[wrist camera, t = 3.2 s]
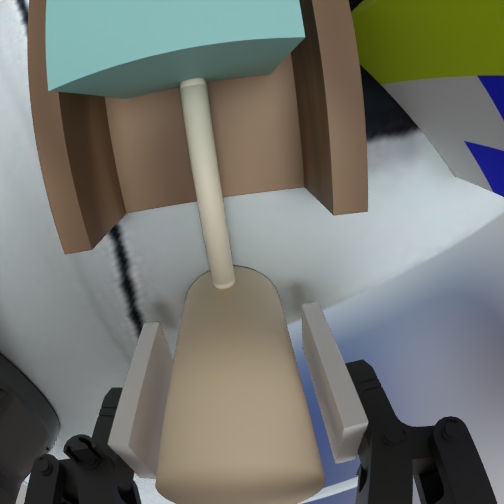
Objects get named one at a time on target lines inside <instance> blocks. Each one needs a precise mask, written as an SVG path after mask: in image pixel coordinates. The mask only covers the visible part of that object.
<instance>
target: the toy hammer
mask: <svg viewBox="0 0 504 504" xmlns="http://www.w3.org/2000/svg"><path fill="white" fill-rule="evenodd" d="M304 38H305V32H304V26H303V20H302V14H301V8H300V3H299V0H47V1H46V67H47V82H48V91H53V92H67V93H78V94H88V95H97V96H105V97H112V98H119V99H128V98H132V97H136V96H140V95H144V94H148V93H152V92H157V91H161V90H166V89H170V88H175V87H180V93H181V101H182V108H183V115H184V122H185V129H186V136H187V142H188V149H189V155H190V161H191V167H192V173H193V179H194V185H195V191H196V197H197V203H198V208H199V214H200V219H201V225H202V230H203V235H204V241H205V246H206V251H207V256H208V261H209V266H210V271H209V272H207V273H205V274H204V275H202V276H200V277H199V278H198V279H197V280H196V281H195V282H194V283H193V284H192V286H191V287H190V289H189V291H188V293H187V296H186V299H185V304H184V309H183V314H182V319H181V324H180V329H179V334H178V340H177V345H176V350H175V356H174V361H173V367H172V373H171V378H170V384H169V390H168V396H167V403H166V409H165V416H164V422H163V429H162V436H161V444H160V451H159V459H158V467H157V476H156V489H157V491H158V492H159V493H160V494H161V495H162V496H163V497H164V498H166V499H168V500H169V501H171V502H174V503H176V504H297V503H300V502H302V501H304V500H306V499H308V498H310V497H312V496H314V495H315V494H317V493H318V492H319V491H320V490H321V489H322V488H323V487H324V485H325V482H326V479H325V476H324V471H323V467H322V463H321V458H320V454H319V450H318V446H317V442H316V438H315V434H314V430H313V426H312V422H311V418H310V414H309V410H308V406H307V402H306V398H305V394H304V390H303V387H302V382H301V378H300V375H299V371H298V367H297V363H296V359H295V355H294V352H293V347H292V344H291V340H290V336H289V332H288V329H287V324H286V321H285V317H284V313H283V309H282V306H281V302H280V298H279V295H278V292H277V290H276V288H275V287H274V285H273V284H272V283H271V282H270V281H269V279H267V278H266V277H265V276H264V275H262V274H260V273H259V272H257V271H254V270H252V269H248V268H245V267H238V266H233V260H232V254H231V248H230V242H229V235H228V229H227V222H226V216H225V209H224V203H223V196H222V190H221V183H220V176H219V169H218V162H217V156H216V149H215V141H214V134H213V127H212V120H211V113H210V105H209V98H208V90H207V83H206V82H209V81H215V80H223V79H230V78H238V77H248V76H258V75H270V74H271V73H272V72H273V71H274V70H275V69H276V68H277V67H278V65H279V64H280V63H281V62H282V61H283V60H284V59H285V58H286V57H287V56H288V55H289V54H290V53H291V52H292V51H293V49H294V48H295V47H296V46H297V45H298V44H299V43H300V42H301V41H302V40H303V39H304Z"/></svg>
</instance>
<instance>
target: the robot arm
mask: <svg viewBox="0 0 504 504" xmlns="http://www.w3.org/2000/svg"><path fill="white" fill-rule="evenodd" d="M301 305H302V338H303V351H304V355H305V358H306V361H307V365H308V368H309V371H310V375H311V378H312V382H313V385H314V389H315V392H316V395H317V399H318V403H319V406H320V410H321V413H322V417H323V420H324V424H325V427H326V431H327V435H328V438H329V442H330V445H331V449H332V452H333V456H334V460H335V463H336V464H337V463H341V462H345V461H349V460H353V459H356V457H357V454H358V455H359V458H360V461H361V464H360V466H359V468H358V471H357V474H356V475H359V477H358V487H357V496H356V503H355V504H412V496H413V494H412V493H413V492H412V491H413V476H414V479H415V483H416V487H417V490H418V494H419V497H420V502H421V504H497V501H496V498H495V495H494V493H493V490H492V487H491V484H490V482H489V479H488V476H487V474H486V471H485V469H484V466H483V463H482V461H481V459H480V456H479V454H478V451H477V449H476V447H475V445H474V442H473V440H472V438H471V435H470V433H469V431H468V429H467V427H466V425H465V424H464V422H463V421H462V420H460V419H459V418H457V417H452V416H450V417H444V418H442V419H441V420H439V421H438V422H437V423H436V425H435V426H426V427H411V426H408V425H406V424H404V423H402V422H401V421H400V420H399V419H398V418H397V417H396V415H395V413H394V411H393V409H392V407H391V404H390V402H389V400H388V398H387V396H386V394H385V392H384V390H383V388H382V387H381V384H380V382H379V380H378V379H377V376H376V374H375V372H374V369H373V368H372V367H371V366H370V365H369V364H368V363H366V362H365V361H364V360H359V361H355V362H350V363H346V364H345V363H344V360H343V358H342V356H341V353H340V351H339V348H338V346H337V344H336V342H335V339H334V337H333V335H332V333H331V330H330V328H329V325H328V323H327V322H326V319H325V317H324V314H323V312H322V309H321V307H320V305H319V303H318V302H313V303H306V304H301ZM173 361H174V360H173V358H172V355H171V353H170V350H169V347H168V345H167V342H166V339H165V337H164V334H163V331H162V328H161V326H160V323H159V322H152V323H144V325H143V328H142V331H141V334H140V337H139V340H138V343H137V345H136V349H135V352H134V355H133V358H132V361H131V364H130V367H129V370H128V373H127V377H126V380H125V383H124V386H123V388H111V389H110V391H109V392H108V393H107V394H106V396H105V397H104V400H103V403H102V406H101V407H102V409H100V413H99V417H98V419H97V422H96V425H95V429H94V432H93V435H92V438H91V437H89V436H87V435H76V436H73V437H72V438H70V439H69V440H68V441H67V443H66V444H65V446H64V451H63V452H64V453H65V454H66V455H67V456H68V457H69V458H70V459H64V460H58V459H56V458H55V457H54V456H53V455H50V454H47V453H49V452H50V450H51V449H52V448H53V446H54V444H55V441H56V438H57V436H58V433H59V430H60V424H59V421H58V418H57V416H56V414H55V412H54V410H53V409H52V407H51V406H50V404H49V403H48V402H47V400H46V399H45V398H44V397H43V395H42V394H41V393H40V392H39V391H38V390H37V388H36V387H35V386H34V385H33V384H32V383H31V382H30V381H29V380H28V379H27V378H26V377H25V376H24V375H23V374H22V373H21V372H20V371H19V370H18V369H17V368H16V367H14V366H13V365H12V364H11V363H10V362H9V361H8V360H6V359H5V358H4V357H3V356H2V355H0V504H16V499H17V496H18V493H19V490H20V487H21V484H22V482H23V481H24V480H25V478H26V477H27V476H28V475H29V474H30V473H31V474H30V479H29V483H28V488H27V493H26V497H25V503H24V504H141V500H140V496H139V492H138V488H137V485H136V483H135V481H133V476H134V472H135V473H136V474H137V475H138V476H139V477H140V478H150V479H156V476H157V467H158V459H159V451H160V444H161V436H162V429H163V422H164V416H165V409H166V403H167V396H168V390H169V384H170V378H171V373H172V367H173Z"/></svg>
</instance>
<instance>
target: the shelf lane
mask: <svg viewBox="0 0 504 504" xmlns="http://www.w3.org/2000/svg"><path fill="white" fill-rule="evenodd" d="M46 1H47V0H29V13H28V76H29V90H30V101H31V110H32V118H33V126H34V133H35V139H36V145H37V150H38V156H39V161H40V166H41V171H42V175H43V180H44V184H45V188H46V192H47V196H48V200H49V204H50V208H51V211H52V215H53V218H54V222H55V225H56V228H57V232H58V235H59V238H60V241H61V244H62V247H63V250H64V253H65V254H71V253H76V252H82V251H88V250H92V249H93V248H94V247H95V246H96V245H97V244H98V243H99V242H100V241H101V239H102V238H103V237H104V236H105V235H106V234H107V233H108V232H109V231H110V230H111V229H112V228H113V227H114V226H115V225H116V224H117V223H118V222H119V221H120V220H121V219H122V218H123V216H124V215H125V214H126V213H131V212H137V211H142V210H148V209H153V208H159V207H165V206H171V205H177V204H183V203H189V202H195V201H197V197H196V191H195V185H194V179H193V173H192V167H191V161H190V155H189V149H188V142H187V136H186V129H185V122H184V115H183V108H182V101H181V93H180V87H175V88H170V89H166V90H161V91H157V92H152V93H148V94H144V95H140V96H136V97H132V98H128V99H119V98H112V97H105V96H97V95H88V94H78V93H67V92H53V91H48V82H47V67H46ZM299 3H300V8H301V14H302V20H303V26H304V32H305V38H304V39H303V40H302V41H301V42H300V43H299V44H298V45H297V46H296V47H295V48H294V49H293V51H292V52H291V53H290V54H289V55H288V56H287V57H286V58H285V59H284V60H283V61H282V62H281V63H280V64H279V65H278V67H277V68H276V69H275V70H274V71H273V72H272V73H271V74H270V75H258V76H248V77H238V78H230V79H223V80H215V81H209V82H206V83H207V90H208V98H209V105H210V113H211V120H212V127H213V134H214V141H215V149H216V156H217V162H218V169H219V176H220V183H221V190H222V196H223V197H229V196H236V195H244V194H251V193H259V192H267V191H276V190H284V189H293V188H302V187H305V188H306V189H307V190H308V191H309V192H310V193H311V194H312V195H313V196H314V197H315V198H316V199H317V200H318V201H319V202H320V203H321V204H323V205H324V206H325V207H326V208H327V209H328V210H329V211H330V212H331V213H332V214H333V215H342V214H351V213H360V212H368V172H367V144H366V127H365V113H364V101H363V91H362V82H361V73H360V65H359V58H358V51H357V44H356V38H355V32H354V26H353V20H352V15H351V10H350V5H349V0H299Z"/></svg>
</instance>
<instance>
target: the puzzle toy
mask: <svg viewBox="0 0 504 504" xmlns="http://www.w3.org/2000/svg"><path fill="white" fill-rule="evenodd" d="M351 15H352V20H353V26H354V32H355V38H356V44H357V51H358V58H359V64H360V65H361V66H362V67H363V68H364V69H365V70H367V71H368V72H369V73H370V74H371V75H372V76H373V77H374V78H375V79H376V80H377V81H378V82H379V83H380V84H381V86H382V87H383V88H384V89H385V90H386V91H387V92H388V93H389V94H390V95H391V96H392V97H393V98H394V99H395V100H396V102H397V103H398V104H399V105H400V106H401V107H402V108H403V109H404V111H405V112H406V113H407V114H408V115H409V116H410V118H411V119H412V120H413V121H414V122H415V124H416V125H417V126H418V127H419V128H420V130H421V131H422V132H423V133H424V135H425V136H426V137H427V139H428V140H429V141H430V142H431V144H432V145H433V146H434V148H435V149H436V150H437V152H438V153H439V154H440V156H441V157H442V159H443V160H444V161H445V163H446V164H447V166H448V167H449V169H450V170H451V171H452V173H453V174H454V176H455V177H458V178H460V179H463V180H466V181H468V182H470V183H473V184H475V185H478V186H480V187H483V188H485V189H487V190H490V191H492V192H494V193H496V194H499V195H501V196H503V197H504V0H363V1H362V2H361V3H360V4H359V5H358V6H357V7H356V8H355V9H354V10H353V11H352V12H351Z"/></svg>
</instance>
